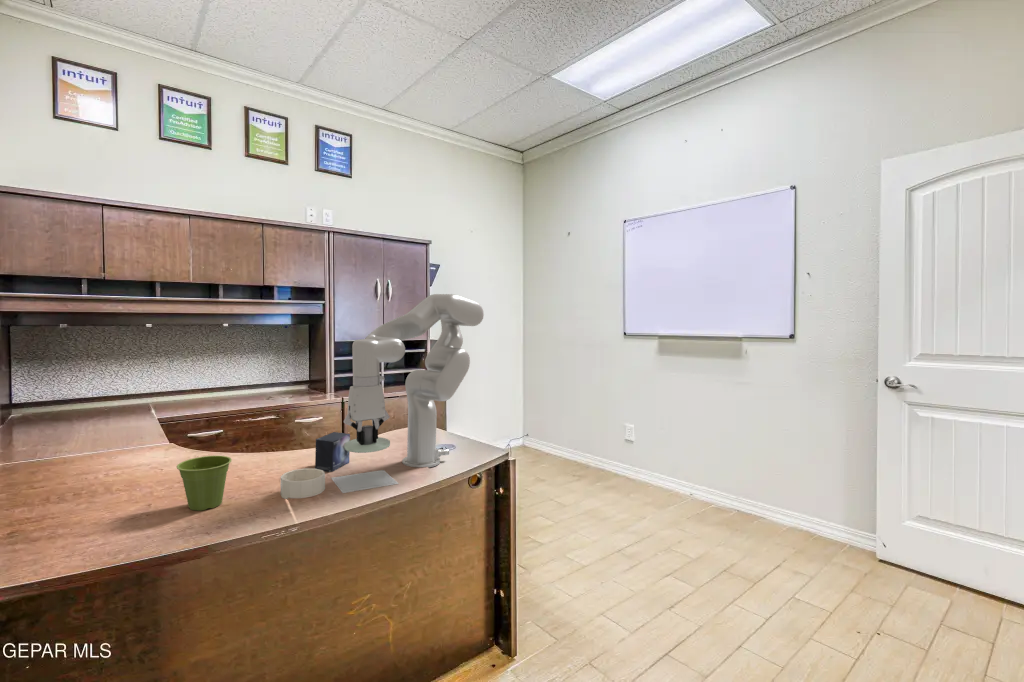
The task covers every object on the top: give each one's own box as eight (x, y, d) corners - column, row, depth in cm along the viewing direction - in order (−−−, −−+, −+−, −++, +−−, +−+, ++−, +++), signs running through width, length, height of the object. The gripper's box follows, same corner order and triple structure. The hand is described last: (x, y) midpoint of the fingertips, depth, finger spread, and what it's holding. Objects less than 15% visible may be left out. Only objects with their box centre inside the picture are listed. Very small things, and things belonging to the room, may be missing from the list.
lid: (382, 437, 154) (381, 419, 153) (396, 448, 143) (396, 428, 142) (339, 443, 147) (339, 424, 146) (351, 455, 136) (350, 435, 135)
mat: (383, 471, 155) (383, 469, 155) (398, 485, 143) (398, 483, 143) (330, 479, 146) (331, 477, 146) (342, 495, 134) (342, 493, 134)
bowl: (319, 483, 143) (319, 466, 143) (328, 495, 134) (328, 477, 133) (278, 489, 137) (278, 472, 137) (284, 503, 128) (284, 484, 127)
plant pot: (183, 499, 128) (183, 457, 127) (235, 494, 132) (235, 454, 131) (170, 517, 117) (170, 471, 116) (227, 512, 121) (227, 467, 120)
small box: (332, 474, 151) (333, 441, 150) (313, 472, 152) (314, 439, 152) (350, 464, 161) (351, 432, 161) (332, 462, 163) (333, 431, 162)
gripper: (389, 377, 151) (390, 435, 152) (334, 381, 142) (335, 443, 143) (397, 381, 144) (398, 441, 146) (340, 386, 135) (342, 450, 137)
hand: (367, 442), depth 145 cm, fingers closed on lid, 3 cm apart
